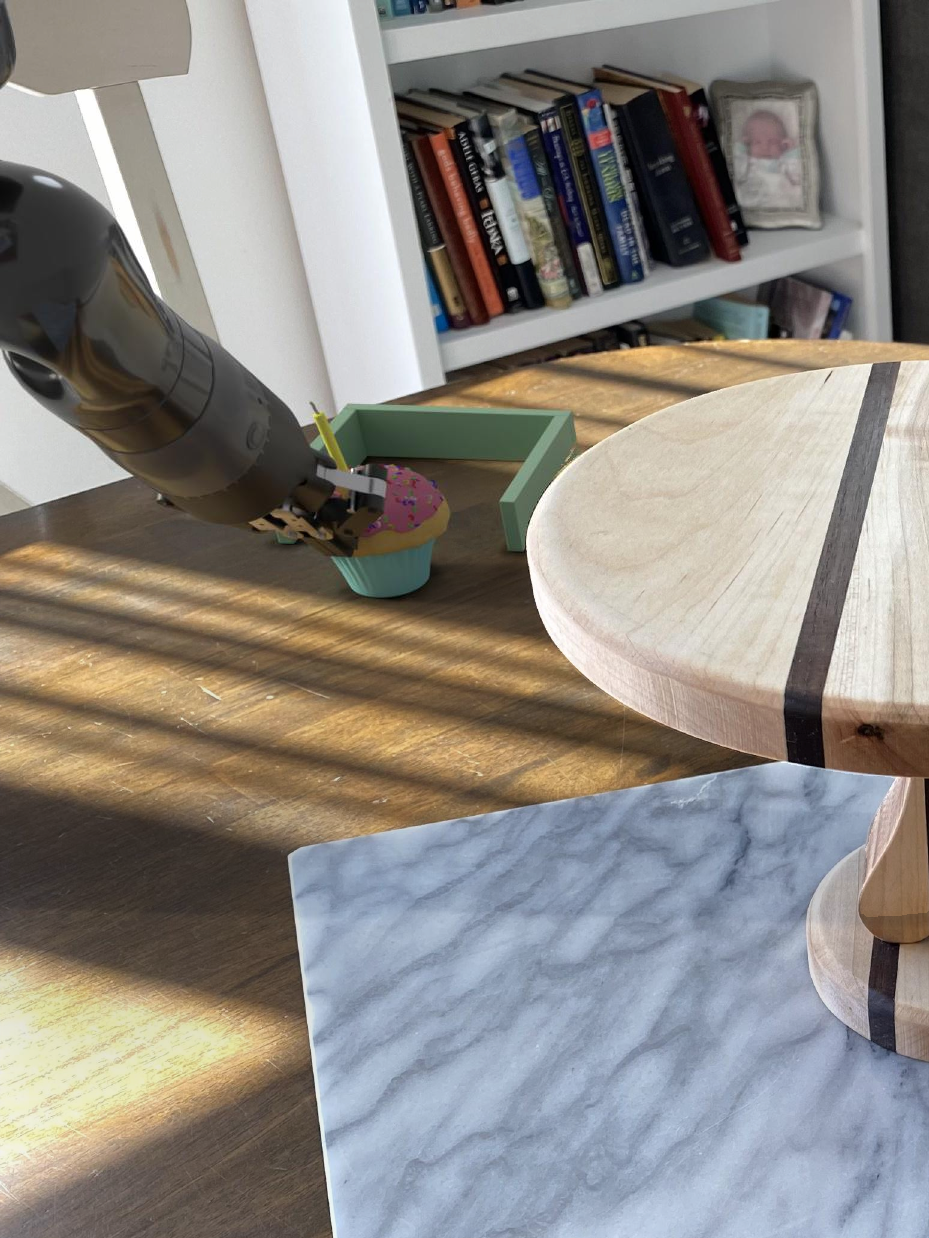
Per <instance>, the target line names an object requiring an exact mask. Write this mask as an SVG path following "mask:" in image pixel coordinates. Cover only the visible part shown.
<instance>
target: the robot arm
mask: <svg viewBox="0 0 929 1238" xmlns="http://www.w3.org/2000/svg"><path fill="white" fill-rule="evenodd" d="M15 37H16V36H15V31H14V26H13V23H12V18H11V13H10V10H9V6H8V2H7V0H0V91H1V90H2V89H3V88H5V87H6V85H7V84H8V83H9V82H10V81H11V79H12V78H13V76H14V72H15V71H16V67H17V60H18V59H17V58H18V56H17V55H18V53H17V44H16V38H15ZM0 351H1V353H2V358H3V360H4V362H5V364H6V366H7V368H8V370H9V373H10V374H11V375H12V376H13V378H14V379H15V380H16V382H17V384H19V386H20V387H21V388H22V389H23V390H24V391H25V392H26V393H27V394H28V395H29V396H31V398H33V399H34V400H35V401H36V402H37V403H38V404H39V405H41V406H42V407H43V408H45V409H46V410H47V411H48V412H49V413H51V414H53V415H54V416H56V417H57V418H58V419H60V420H61V421H63V422H64V423H66V424H67V425H69V426H70V427H71V428H73V429H75V430H76V431H77V432H79V433H80V434H82V435H83V436H84V437H86V438H87V439H89V440H90V441H91V442H93V444H94V445H95V446H96V447H97V448H98V449H99V450H100V451H101V452H102V453H103V454H104V455H105V456H106V457H107V458H108V459H110V460H111V461H112V462H114V463H115V464H116V465H117V466H119V468H121V469H123V470H124V471H126V472H127V473H128V474H130V475H131V476H133V477H134V478H136V479H137V480H139V481H140V482H142V483H143V484H145V485H146V486H148V488H150V489H152V490H153V491H155V492H156V493H157V494H156V503H157V504H158V505H160V506H162V507H164V508H167V509H172V510H176V511H179V512H183V513H186V514H189V515H190V516H192V517H194V518H196V519H197V520H200V521H203V522H206V523H210V524H214V525H219V526H230V527H233V528H237V529H240V530H243V531H247V532H250V533H252V534H255V535H260V534H268V531H275V532H276V531H277V532H279V533H280V534H282V535H284V536H286V537H288V538H291V539H296V538H298V539H300V540H302V541H303V542H304V543H306V544H307V545H308V546H309V547H313V548H314V549H315V550H316V551H318V552H319V553H321V554H322V555H323V556H325V557H330V558H331V557H352V556H353V553H354V550H358V542H359V535H360V534H361V533H363V532H364V531H365V530H366V529H367V528H368V527H369V526H371V525H372V524H373V523H374V522H375V521H376V520H377V519H378V518H380V517H381V516H382V515H383V514H384V508H385V498H386V487H387V477H388V469H387V468H386V467H384V466H382V465H379V464H380V463H366V464H365V465H363V466H364V467H363V468H362V469H361V470H359V469H357V468H352V469H351V472H346V471H342V470H338V469H337V464H336V462H335V461H334V459H333V458H332V457H330V456H329V455H327V454H325V453H323V452H321V451H318V450H316V449H314V448H312V447H310V443H309V442H308V439H307V437H306V435H305V433H304V431H303V429H302V426H301V424H300V422H299V420H298V418H297V416H295V414H294V412H293V411H292V410H291V408H290V407H289V406H288V404H286V402H284V401H283V400H282V399H281V398H280V397H279V396H278V395H277V394H275V392H273V391H272V390H271V389H270V388H269V387H268V386H267V385H265V384H264V383H263V382H262V381H261V380H260V379H259V378H258V376H256V375H254V373H253V372H251V371H250V370H249V369H248V368H247V367H246V366H245V365H244V364H242V363H241V362H240V360H238V359H237V358H236V357H235V356H234V355H233V354H231V353H230V352H229V351H228V350H227V349H226V348H225V347H223V346H222V345H221V344H220V343H218V342H217V341H216V340H215V339H213V338H212V337H210V336H209V335H207V334H206V333H204V332H203V331H201V330H199V329H197V328H196V327H194V326H192V324H190V323H189V321H187V320H186V319H185V318H183V316H181V315H180V314H179V313H178V312H177V311H176V310H175V309H173V308H172V307H171V306H170V304H168V303H167V302H166V301H164V299H162V297H160V296H159V295H158V294H157V293H155V291H154V289H153V287H152V285H151V281H150V280H149V278H148V275H147V274H146V272H145V269H144V268H143V266H142V265H141V262H140V260H139V259H138V256H137V255H136V253H135V251H134V249H133V247H132V245H131V243H130V241H129V239H128V237H127V236H126V233H125V231H124V229H123V228H122V226H121V224H120V223H119V221H118V220H117V219H116V217H115V216H114V215H113V214H112V213H111V211H110V210H109V209H107V207H105V205H103V204H102V203H101V201H99V200H98V199H96V197H94V196H93V195H91V194H90V193H89V192H87V191H85V190H84V189H83V188H81V187H80V186H78V185H76V184H75V183H73V182H71V181H69V180H68V179H65V178H64V177H62V176H59V175H58V174H55V173H53V172H51V171H47V170H46V169H45V170H44V169H41V168H40V167H39V168H38V167H35V166H31V165H28V164H23V163H17V162H13V161H9V160H2V159H0ZM334 491H336V492H338V493H340V497H337V496H336V495H335V494H334Z"/></svg>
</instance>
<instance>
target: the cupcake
mask: <svg viewBox="0 0 929 1238" xmlns="http://www.w3.org/2000/svg"><path fill="white" fill-rule="evenodd" d="M308 404H309V405H310V406H311V408H312V410H313V412H314V413H313V414H312V417H313V420H314V422H315V424H316V427H317V429H318V431H319V433H320V434H321V436H322V438H323V441H324V443H325V445H326V447H327V450H328V452H329V454H330V457H332V458H333V459H334V461H335V462H336V464H337V469H338V470H342V471H346V472H351V469H352V468H351V467H349V470H348V468H347V465H346V463H345V461H344V458H343V456H342V454H341V451H340V449H339V447H338V444H337V442H336V440H335V437H334V435H333V433H332V430H331V428H330V426H329V424H330V422H329V421H328V419H327V416H326V414H325V412H324V411H319V410H318V409H317V407H316V405H315V403H314V401H312V400H310V401H309V402H308ZM320 434H319V435H320ZM378 464H379V465H381V466H384V467H386V468H387V469H388V477H387V487H386V498H385V508H384V514H383V515H382V516H381V517H380V518H378V519H377V520H376V521H375V522H374V523H373V524H372V525H371V526H369V527H368V528H367V529H366V530H365V531H364V532H363V533H361V534H360V535H359V542H358V550H354V553H353V556H352V557H330V558H331V559H332V561H333V562H334V563H335V565H336V566H337V568H338V569H339V571H340V573H341V574H342V575H343V577H344V578H345V581H346V582H347V583H348V586H349V587H350V588H351V590H353V592H355V593H357V594H359V595H360V596H364V597H370V598H377V599H378V598H382V599H383V598H395V597H399V596H403V595H407V594H409V593H413V592H414V591H416V590H418V589H420V588H421V587H423V586H424V585H425V584H426V583H427V582H428V580H429V578H430V573H431V561H432V560H431V559H432V555H433V554H432V553H433V549H434V545H435V542H436V539H437V538H438V537H440V536H442V535H444V534H445V533H446V531H447V529H448V524H449V522H450V521H449V520H450V518H451V510H450V507H449V504H448V502H447V500H446V498H445V496H444V494H443V492H442V491H441V490H440V489H439V488H438V486H437V485H436V481H435V480H434V479H428V477H427V475H424V476H423V475H421V474H420V473H417V472H415V471H413V470H412V469H411V468H410V467H403V466H400V465H399V466H397V465H395V464H389V465H388V464H387V463H378ZM364 466H365V465H362V464H360V465H358V466H357V467H356V468H357V469H359V470H361V469H362V468H363V467H364ZM334 494H335V495H336V496H337V497H340V493H338V492H336V491H334Z"/></svg>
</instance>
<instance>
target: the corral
mask: <svg viewBox="0 0 929 1238" xmlns="http://www.w3.org/2000/svg"><path fill="white" fill-rule="evenodd" d="M329 426H330V428H331V430H332V433H333V435H334V437H335V440H336V442H337V444H338V447H339V449H340V451H341V454H342V456H343V458H344V461H345V463H346V465H347V468H348V470H349V467H351V468H356V467H357V466H358V465H362V463H363V462H364V461H365V459H366V458H367V457H383V458H384V457H389V458H414V459H415V458H417V459H444V460H445V459H450V460H451V459H452V460H475V461H476V460H479V461H480V460H481V461H510V462H511V461H512V462H523V464H522V466H521V467H520V468H519V470H518V472H517V474H516V475H515V477H514V478H513V479H512V481H511V483H510V484H509V486H508V487H507V488H506V490H505V492H504V493H503V495H502V497H501V498H500V499H499V501H498V502H499V508H500V514H501V520H502V524H503V530H504V534H505V539H506V544H507V550H508V552H520V553H521V552H524V551H525V549H526V548H525V536H526V532H527V526H528V521H529V520H530V516H531V513H532V512H533V509H534V507H535V506H536V504H537V501H539V498H540V496H541V495H542V493H543V491H545V489H546V487H547V486H548V485H549V483H550V482H551V480H552V479H553V477H555V475H556V474H557V473H558V471H560V470H561V469H562V468H563V467H564V465H567V463H569V462H570V461H572V460H573V458H575V457H576V456H577V455H579V456H580V452H579V445H578V444H577V446H576V448H575V449H574V451H573V453H572V454H571V456H570V458H569V459H568V461H567V462H565V460H566V458H567V457H568V456H569V455H570V453H571V451H570V450H571V449H572V448H573V445H574V444H575V442H576V441H577V442H578V439H577V433H576V432H577V431H576V425H575V420H574V412H573V410H569V409H568V410H567V409H565V410H564V409H536V408H535V409H533V408H505V407H503V408H501V407H475V406H474V407H470V406H438V405H410V404H409V405H408V404H380V403H378V404H377V403H349V402H348V403H346V404H345V406H344V407H343V408H342V409H341V410H340V411H339V412H338V414H337V415H336V416H335V417H334V418H333V419H332V420H331V422H329ZM309 445H310V447H312V448H314V449H316V450H318V451H321V452H323V453H325V454H327V455H329V456H330V454H329V452H328V450H327V447H326V445H325V443H324V441H323V438H322V436H321V434H319V435H317V437H316V438H315V439H314V440H313V441H312V442H311V443H309ZM561 464H563V465H561ZM275 533H276V536H277V540H278V543H279V544H285V545H288V544H289V545H293V544H296V542H297V541H298V540H299V538H296V539H291V538H288V537H286V536H284V535H282V534H280V533H279V532H277V531H275Z"/></svg>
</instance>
